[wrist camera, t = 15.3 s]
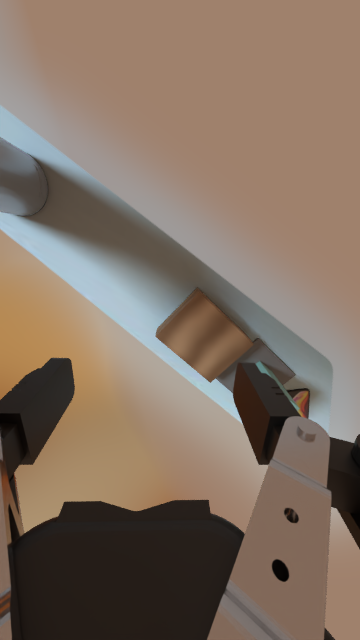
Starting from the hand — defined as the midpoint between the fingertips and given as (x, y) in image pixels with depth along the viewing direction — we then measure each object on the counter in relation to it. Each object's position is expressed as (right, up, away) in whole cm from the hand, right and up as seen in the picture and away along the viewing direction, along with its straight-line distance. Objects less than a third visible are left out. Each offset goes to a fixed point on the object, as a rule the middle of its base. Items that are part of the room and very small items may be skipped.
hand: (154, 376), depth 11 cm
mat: (+17, -9, +36) cm, 41 cm away
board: (+6, 0, +33) cm, 34 cm away
